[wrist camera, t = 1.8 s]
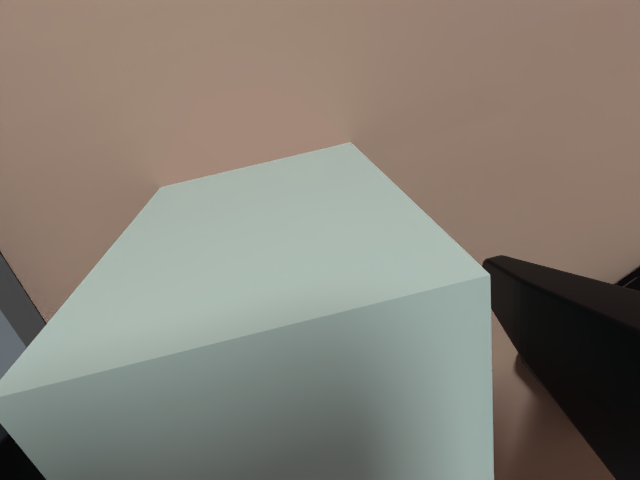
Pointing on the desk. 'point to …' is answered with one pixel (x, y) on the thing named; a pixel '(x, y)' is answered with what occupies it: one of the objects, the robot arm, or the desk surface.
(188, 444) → the block
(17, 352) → the rail board
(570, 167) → the desk surface
